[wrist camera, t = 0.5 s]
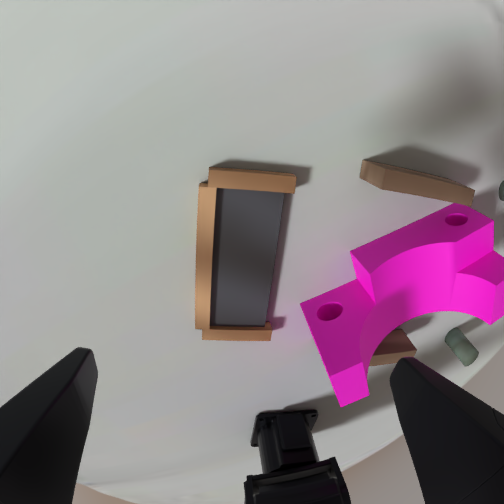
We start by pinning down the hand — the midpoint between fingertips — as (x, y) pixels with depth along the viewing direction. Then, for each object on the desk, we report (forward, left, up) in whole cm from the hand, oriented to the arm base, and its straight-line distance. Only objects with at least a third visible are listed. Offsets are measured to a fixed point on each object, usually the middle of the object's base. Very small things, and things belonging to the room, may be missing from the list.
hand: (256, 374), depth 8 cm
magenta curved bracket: (-3, -12, -13) cm, 18 cm away
